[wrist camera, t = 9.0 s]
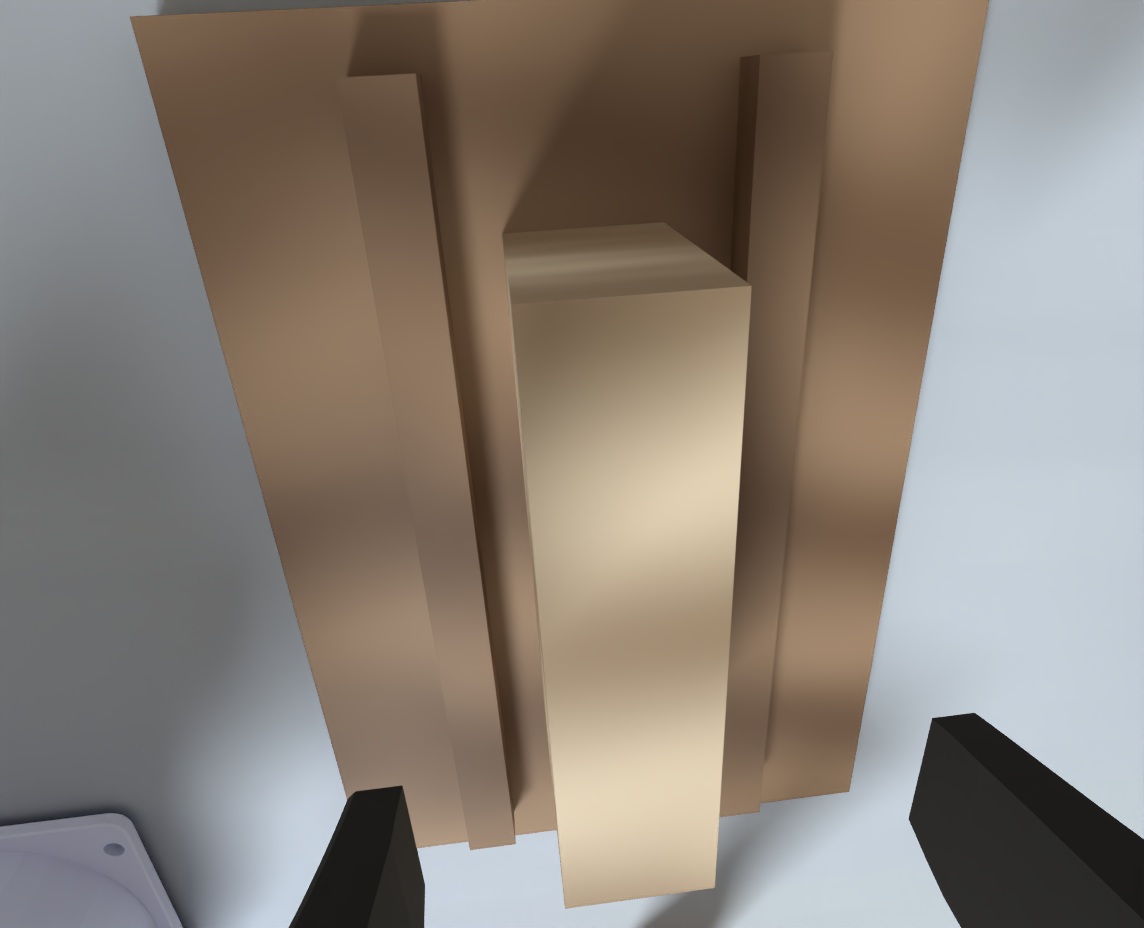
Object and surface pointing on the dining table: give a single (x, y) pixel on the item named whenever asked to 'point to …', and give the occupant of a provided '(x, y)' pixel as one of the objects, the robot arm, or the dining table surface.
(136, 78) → the dining table surface
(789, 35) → the picture ledge
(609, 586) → the beige long rectangular block
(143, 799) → the dining table surface
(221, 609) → the dining table surface
